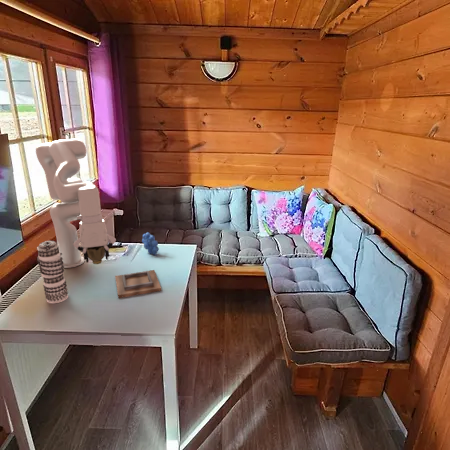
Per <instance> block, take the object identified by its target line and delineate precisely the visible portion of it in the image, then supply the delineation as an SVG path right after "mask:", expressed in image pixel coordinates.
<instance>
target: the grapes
mask: <svg viewBox="0 0 450 450" xmlns="http://www.w3.org/2000/svg"><path fill="white" fill-rule="evenodd" d="M141 242H142V243H143V247H144V249H145V250H147V253H148V254H150V255H152V254H153V255H157V253H158V252H159V250H160V248H159V247H158V244H159V243H158V240H155V235H153V234H151V233H150V232H148V231H147V232H146V233H143V234H142V239H141Z"/></svg>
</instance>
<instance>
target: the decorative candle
mask: <svg viewBox="0 0 450 450" xmlns="http://www.w3.org/2000/svg"><path fill="white" fill-rule="evenodd" d="M36 250H37V255H38V256H37V258H36V260H37V265H39V266H38V268H39V272H40V275H41V277H42V279H43V280H42V281H43V285H42V286H43V291H44V295H45V299H46V302H47V303H48V304H54V305H55V304H59V303H61V302H64V301H66V300H67V299H68V298H69V294H68V293H69V292H68V287H67V286H68V285H67V281H66V278H65V276H64V272H65V268H64V266H63V265H62V264H63V261H62V260H63V258H62V257H60V255H62V253H60V251H59V244H58V243H57V241H54V240H45V241H43V242H40V243H39V245H38V246H37V247H36Z"/></svg>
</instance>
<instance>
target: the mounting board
mask: <svg viewBox="0 0 450 450" xmlns="http://www.w3.org/2000/svg"><path fill="white" fill-rule="evenodd" d="M114 277H115V278H114V279H115V285H116V290H117V291H116V292H117V299H122V298H128V297H135V296H140V295H145V294H150V293H151V294H152V293H156V292H161V291H162V287H161V283H160V280H159V279H158V276H157V273H156V270H155V269H152V270H150V269H149V270H145V271H139V272H138V271H137V272H132V273H131V272H130V273H125V274H119V275H118V274H117V275H114Z"/></svg>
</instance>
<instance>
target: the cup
mask: <svg viewBox="0 0 450 450" xmlns="http://www.w3.org/2000/svg"><path fill="white" fill-rule="evenodd" d="M86 252H87V255H88V260H89V261H92V265H100V264H102V262H103V259H104V258H105V248H104V246H99V247H91V248H87V249H86Z"/></svg>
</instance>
